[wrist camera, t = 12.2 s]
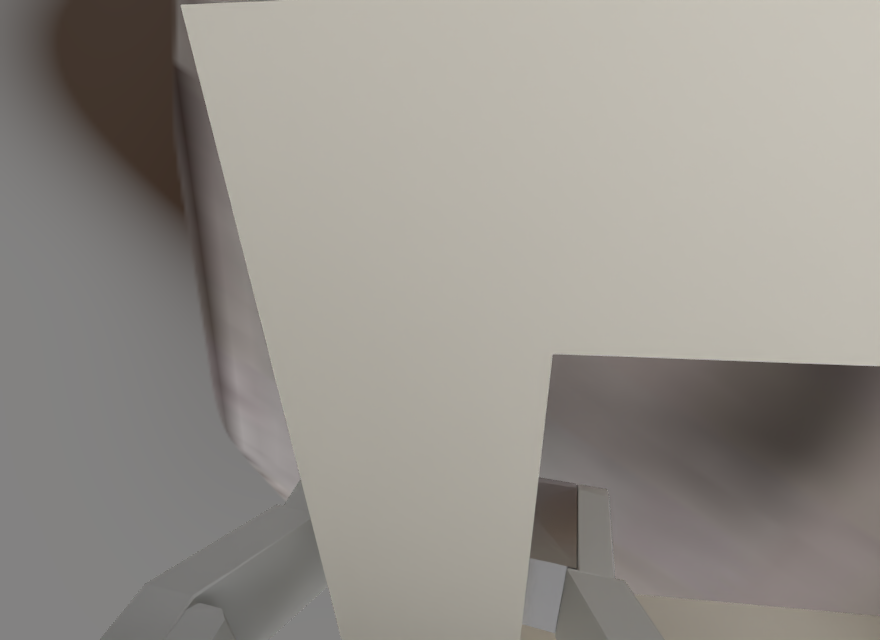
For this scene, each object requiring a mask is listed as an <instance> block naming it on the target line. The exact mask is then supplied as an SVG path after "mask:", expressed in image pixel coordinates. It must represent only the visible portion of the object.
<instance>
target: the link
mask: <svg viewBox="0 0 880 640" xmlns="http://www.w3.org/2000/svg"><path fill="white" fill-rule="evenodd" d="M181 9H182V13H183V17H184V21H185V25H186V29H187V33H188V37H189V41H190V45H191V49H192V53H193V56H194V60H195V64H196V68H197V72H198V76H199V80H200V84H201V88H202V92H203V96H204V100H205V104H206V108H207V112H208V116H209V120H210V124H211V128H212V131H213V135H214V139H215V143H216V147H217V151H218V155H219V159H220V163H221V167H222V171H223V175H224V179H225V183H226V187H227V191H228V195H229V199H230V202H231V206H232V210H233V214H234V218H235V222H236V226H237V230H238V234H239V238H240V242H241V246H242V250H243V254H244V258H245V262H246V266H247V270H248V274H249V277H250V281H251V285H252V289H253V293H254V297H255V301H256V305H257V309H258V313H259V317H260V321H261V325H262V329H263V333H264V337H265V341H266V345H267V349H268V352H269V356H270V360H271V364H272V368H273V372H274V376H275V380H276V384H277V388H278V392H279V396H280V400H281V404H282V408H283V412H284V416H285V420H286V423H287V427H288V431H289V435H290V439H291V443H292V447H293V451H294V455H295V459H296V463H297V467H298V471H299V475H300V479H301V483H302V487H303V491H304V495H305V498H306V502H307V506H308V510H309V514H310V518H311V522H312V526H313V530H314V534H315V538H316V542H317V546H318V550H319V554H320V558H321V562H322V566H323V570H324V573H325V577H326V581H327V585H328V589H329V593H330V597H331V601H332V605H333V609H334V613H335V616H336V621H337V625H338V628H339V633H340V637H341V640H556V637H555V633H552V632H548V631H545V630H541V629H538V628H534V627H530V626H527V625H523V624H522V620H523V611H524V602H525V593H526V584H527V576H528V567H529V558H530V549H531V541H532V532H533V523H534V514H535V505H536V497H537V488H538V479H539V470H540V462H541V453H542V444H543V435H544V426H545V418H546V409H547V400H548V391H549V383H550V374H551V365H552V356H553V354H564V355H591V356H618V357H644V358H671V359H698V360H725V361H751V362H778V363H805V364H831V365H858V366H880V0H277V1H254V2H231V3H209V4H186V5H181ZM634 595H635V596H636V598H637V599H638V601H639V602H640V604H641V605H642V607H643V608H644V610H645V611H646V613H647V614H648V616H649V617H650V619H651V620H652V622H653V623H654V625H655V626H656V628H657V629H658V630H659V632H660V633H661V635H662V636H663V638H664V639H665V640H880V616H873V615H862V614H850V613H839V612H828V611H817V610H806V609H795V608H783V607H772V606H761V605H750V604H739V603H727V602H716V601H705V600H694V599H683V598H671V597H660V596H649V595H638V594H634Z"/></svg>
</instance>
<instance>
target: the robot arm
mask: <svg viewBox="0 0 880 640" xmlns="http://www.w3.org/2000/svg"><path fill="white" fill-rule="evenodd" d="M327 586H328V585H327V581H326V577H325V573H324V570H323V566H322V562H321V558H320V554H319V550H318V546H317V542H316V538H315V534H314V530H313V526H312V522H311V518H310V514H309V510H308V506H307V502H306V498H305V495H304V491H303V487H302V483H301V480H300V481H299V483H298V484H297V486H296V487H295V489H294V490H293V492H292V493H291V495H290V497H289V498H288V500H287V501H286V503H285V504H284V506H282V505H275V506H273V507H271V508H270V509H268V510H266V511H265V512H263V513H261V514H260V515H258V516H256V517H255V518H253V519H252V520H250V521H248V522H246V523H245V524H243V525H241V526H240V527H238V528H237V529H235V530H233V531H232V532H230V533H229V534H227V535H225V536H223V537H222V538H220V539H218V540H217V541H215V542H213V543H212V544H210V545H208V546H207V547H205V548H203V549H202V550H200V551H198V552H197V553H195V554H193V555H192V556H190V557H188V558H187V559H185V560H184V561H182V562H180V563H179V564H177V565H175V566H174V567H172V568H170V569H169V570H167V571H165V572H164V573H162V574H160V575H159V576H157V577H155V578H154V579H152V580H150V581H149V582H147V583H145V584H144V586H143V587H142V588H141V589H140V591H139V592H138V593H137V594H136V595H135V597H134V598H133V599H132V600H131V602H130V603H129V604H128V605H127V607H126V608H125V609H124V610H123V611H122V613H121V614H120V615H119V616H118V618H117V619H116V620H115V621H114V622H113V624H112V625H111V626H110V627H109V628H108V630H107V631H106V632H105V633H104V635H103V636H102V637H101V638H100V640H269V639H270V638H271V637H272V636H273V635H275V634H276V633H277V632H278V631H279V630H280V629H281V628H282V627H283V626H285V625H286V624H287V623H288V622H289V621H290V620H291V619H292V618H293V617H294V616H296V614H298V613H299V612H300V611H301V610H302V609H303V608H304V607H305V606H307V605H308V604H309V603H310V602H311V601H312V600H313V599H314V598H315V597H316V596H318V595H319V594H320V593H321V592H322V591H323V590H324V589H325V588H326V587H327ZM522 624H523V625H527V626H530V627H534V628H538V629H541V630H545V631H548V632H552V633H555V637H556V640H665V639H664V638H663V636H662V635H661V633H660V632H659V630H658V629H657V628H656V626H655V625H654V623H653V622H652V620H651V619H650V617H649V616H648V614H647V613H646V611H645V610H644V608H643V607H642V605H641V604H640V602H639V601H638V599H637V598H636V596H635V595H634V594H633V592H632V591H631V589H630V588H629V586H628V585H627V583H626V582H625V581H624V580H620V579H616V578H615V570H614V555H613V541H612V527H611V513H610V499H609V493H608V491H607V489H602V488H596V487H590V486H585V485H579V484H578V485H576V484H575V483H569V482H563V481H557V480H551V479H545V478H539V479H538V488H537V497H536V505H535V514H534V523H533V532H532V541H531V549H530V558H529V567H528V576H527V584H526V593H525V602H524V611H523V620H522Z"/></svg>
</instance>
